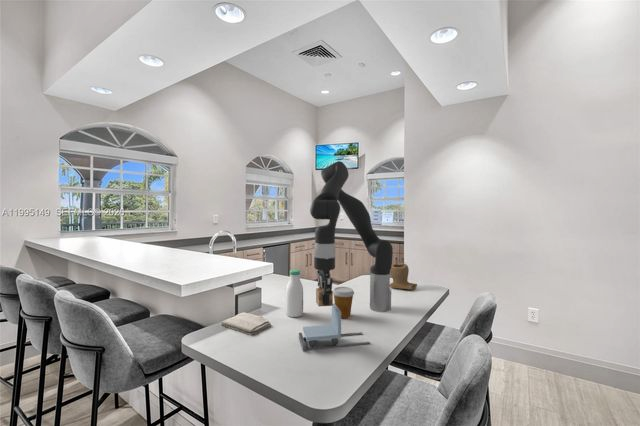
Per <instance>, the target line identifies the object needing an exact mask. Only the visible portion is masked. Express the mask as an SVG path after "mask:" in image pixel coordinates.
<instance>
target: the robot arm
mask: <svg viewBox="0 0 640 426" xmlns="http://www.w3.org/2000/svg"><path fill="white" fill-rule="evenodd" d="M320 175H321V178H322V180H323V182H324V183H325V184H324V186H323V187H322V189H321V192H320V194H318V195H317V196H316V198H314V199H313V201H312V202H311V204H310V208H309V212H310V215H311V217H312V218H313V219H315V220H328V223H327V224H325V225H324V224H323V225H319V226H317V227H316V228H315V232H314V242H315V243H314V249H313V250H314V253H313V254H314V255H313V256H314V257H313V259H314V260H313V268H314V270H317V272H316V273H317V288H322V290H323V305H329V295H330V294H331V293H332V291H333V278H332V275H331V271H333V270H335V268H336V245H335V243H336V241H335V239H336V237H335V236H336V228H337V223H338V219H339V216H340V212H341V208H342V210H343V211H344V214H346V216H347V218H348V219H349V222H350V223H351V224H352V225H353V227H354V229H355V230H356V232H357V234H358V235H359V237H360V238H361V239H362V242H363V244H364V247H365V248H366V250H367V252H368V254H369V255H370V256H371V257H372V258H374V259H375V260H374V265H370V268H369V270H370V271H369V273H370V274H369V277H370V282H369V308H370V310H372V311H374V312H380V313H381V312H384V313H385V312H387V311H391V310H392V289H390V288H391V287H390V284H391V271H390V269H391V267H392V265H393V254H394V253H393V251H394V250H393V245H392V244H391V242H390V241H389V240H386V239H380V237H378V235H377V234H376V232H375V231H374V229H373V226H372V220H371V215H370V213H369V211H368V209H367V207H366V206H365V205H364V203H363V202H362V201H361V200H360V199H358V198H356V197H355V196H353V195H350V194H348V193H347V192H345V191H344V190H343V189H342V188H343V187H344V185H345V183H346V181H347V180H348V178H349V175H350V174H349V170H348V167H347V165H345V163H344V162H343V161H340V160H338V161H335V162H333V163H331V164H330V165H328V166H326V167H325V168H323V169H322V170H321V171H320ZM326 289H328V291H326Z"/></svg>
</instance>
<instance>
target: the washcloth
mask: <svg viewBox="0 0 640 426" xmlns="http://www.w3.org/2000/svg"><path fill="white" fill-rule="evenodd" d="M222 325H223V326H222ZM271 325H272V324H271V322H270V320H269V319H268V318H267V319H266V318H264V317H263V316H261V315H255V314H252V313H248V312H240V313H239V314H238V313H237V314H236V315H233V317H229V318H227V319H225V320H222V321H221V325H220V326H222V327H225V326H226V327H225V328H229V329H231V330H234V331H238V332H241V333H244V334H246V335H248V336H249V335H250V336H252V335H255V334H258V333H260V332H261V331H264V330H265V329H268V328H269V327H271Z"/></svg>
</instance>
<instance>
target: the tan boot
mask: <svg viewBox="0 0 640 426" xmlns="http://www.w3.org/2000/svg"><path fill="white" fill-rule="evenodd" d="M390 276H391V278H392V282H390V288H392V289H400V290H407V291H408V290H409V291H414V290H416V288H417V287H418V284H417V283H412V282H409V281H408V278H409V266H408V264H407V263H405V262H404V263H403V262H401V263H392V267H391V269H390Z"/></svg>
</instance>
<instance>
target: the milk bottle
mask: <svg viewBox="0 0 640 426" xmlns="http://www.w3.org/2000/svg"><path fill="white" fill-rule="evenodd" d="M300 275H301V271H300V269H290V270H289V281H288V283H287V285H286V290H285V293H286V294H285V314H286V316H287V317H289V318H299V317H302V316H303V315H304V287H303V284H302V280H301V278H300Z"/></svg>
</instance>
